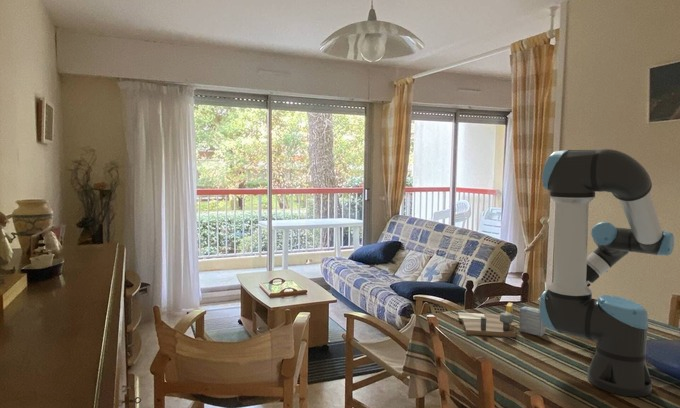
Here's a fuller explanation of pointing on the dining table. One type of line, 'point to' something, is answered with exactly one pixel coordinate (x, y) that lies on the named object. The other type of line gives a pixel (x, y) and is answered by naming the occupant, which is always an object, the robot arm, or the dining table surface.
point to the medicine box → (531, 321)
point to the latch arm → (507, 314)
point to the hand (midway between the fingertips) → (545, 307)
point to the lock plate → (490, 327)
